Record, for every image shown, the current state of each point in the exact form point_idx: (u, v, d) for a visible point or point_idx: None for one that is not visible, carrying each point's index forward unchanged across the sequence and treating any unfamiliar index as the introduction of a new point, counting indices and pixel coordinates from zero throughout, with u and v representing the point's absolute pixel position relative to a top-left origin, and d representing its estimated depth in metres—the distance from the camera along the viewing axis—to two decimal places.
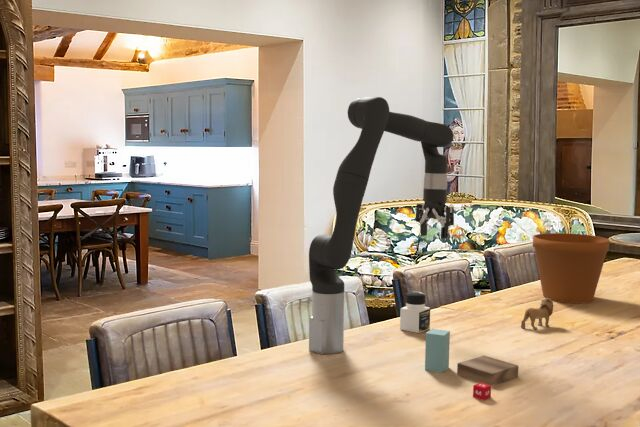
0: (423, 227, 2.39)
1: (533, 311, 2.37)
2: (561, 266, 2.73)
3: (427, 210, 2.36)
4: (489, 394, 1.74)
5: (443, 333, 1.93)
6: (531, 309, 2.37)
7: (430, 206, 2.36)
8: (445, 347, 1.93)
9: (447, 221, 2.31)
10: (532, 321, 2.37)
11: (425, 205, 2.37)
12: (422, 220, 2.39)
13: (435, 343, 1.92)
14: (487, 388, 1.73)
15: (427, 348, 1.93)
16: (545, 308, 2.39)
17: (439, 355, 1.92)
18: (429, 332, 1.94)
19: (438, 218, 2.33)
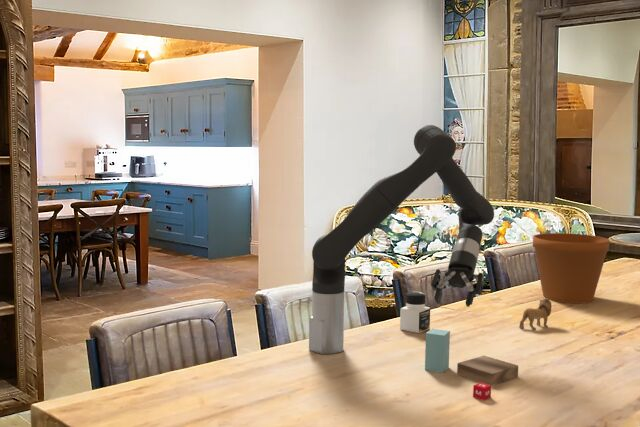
0: None
1: (532, 312, 2.36)
2: (561, 266, 2.73)
3: None
4: (489, 394, 1.74)
5: (443, 333, 1.93)
6: (530, 309, 2.37)
7: None
8: (445, 347, 1.93)
9: None
10: (531, 321, 2.36)
11: None
12: None
13: (435, 343, 1.92)
14: (487, 388, 1.73)
15: (427, 348, 1.93)
16: (543, 308, 2.39)
17: (439, 355, 1.92)
18: (429, 332, 1.94)
19: None
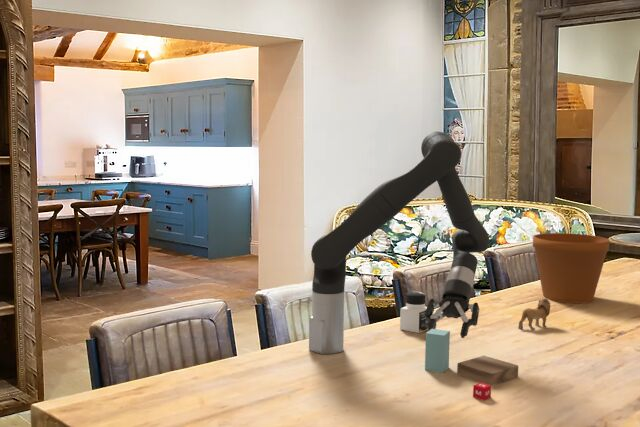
0: None
1: (531, 312, 2.36)
2: (561, 266, 2.73)
3: None
4: (489, 394, 1.74)
5: (443, 333, 1.93)
6: (529, 309, 2.36)
7: None
8: (445, 347, 1.93)
9: None
10: (530, 321, 2.36)
11: None
12: None
13: (435, 343, 1.92)
14: (487, 388, 1.73)
15: (427, 348, 1.93)
16: (542, 308, 2.39)
17: (439, 355, 1.92)
18: (429, 332, 1.94)
19: None
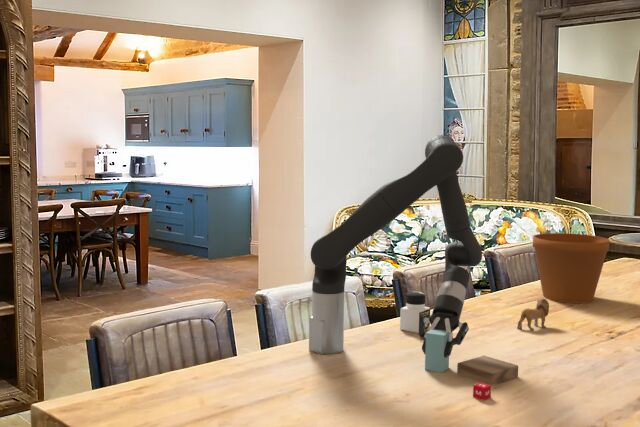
0: None
1: (530, 312, 2.36)
2: (561, 266, 2.73)
3: None
4: (489, 394, 1.74)
5: (443, 333, 1.93)
6: (527, 310, 2.36)
7: None
8: None
9: None
10: (529, 322, 2.36)
11: None
12: None
13: (435, 343, 1.92)
14: (487, 388, 1.73)
15: (427, 348, 1.93)
16: (541, 309, 2.38)
17: (439, 355, 1.92)
18: (429, 332, 1.94)
19: None
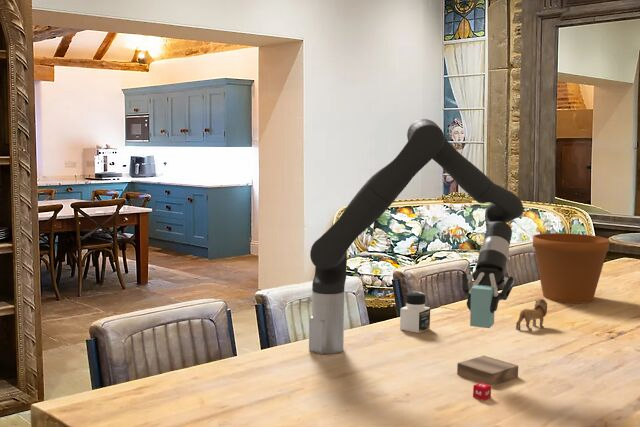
0: None
1: (528, 312, 2.35)
2: (561, 266, 2.73)
3: None
4: (489, 394, 1.74)
5: (489, 288, 1.87)
6: (526, 310, 2.35)
7: None
8: None
9: None
10: (527, 322, 2.35)
11: None
12: None
13: (481, 297, 1.87)
14: (487, 388, 1.73)
15: (472, 303, 1.88)
16: (539, 309, 2.38)
17: (485, 310, 1.86)
18: (474, 287, 1.88)
19: None
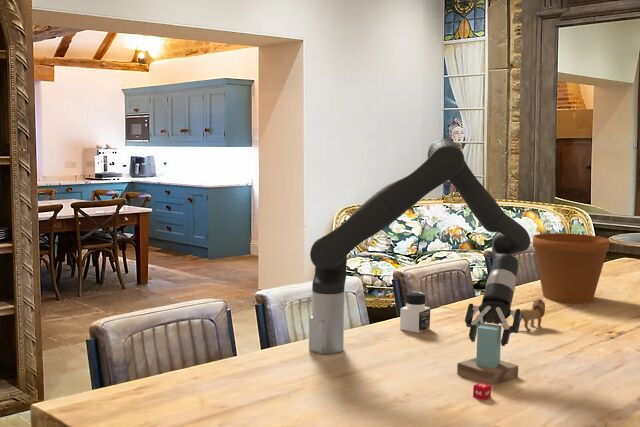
0: None
1: (526, 313, 2.35)
2: (561, 266, 2.73)
3: None
4: (489, 394, 1.74)
5: (495, 328, 1.87)
6: (524, 310, 2.35)
7: None
8: (497, 342, 1.87)
9: None
10: (525, 322, 2.35)
11: None
12: None
13: (488, 337, 1.86)
14: (487, 388, 1.73)
15: (479, 343, 1.88)
16: (537, 309, 2.38)
17: (491, 350, 1.86)
18: (481, 327, 1.88)
19: None
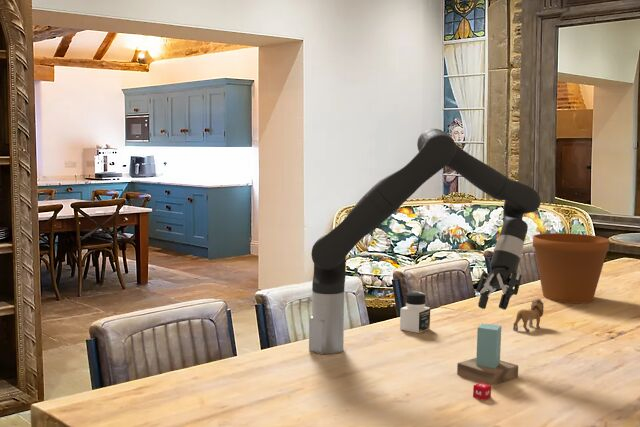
0: None
1: (525, 313, 2.34)
2: (561, 266, 2.73)
3: None
4: (489, 394, 1.74)
5: (495, 328, 1.87)
6: (523, 311, 2.35)
7: None
8: (497, 342, 1.87)
9: None
10: (524, 323, 2.34)
11: None
12: None
13: (488, 337, 1.86)
14: (487, 388, 1.73)
15: (479, 343, 1.88)
16: (536, 309, 2.37)
17: (491, 350, 1.86)
18: (481, 327, 1.88)
19: None
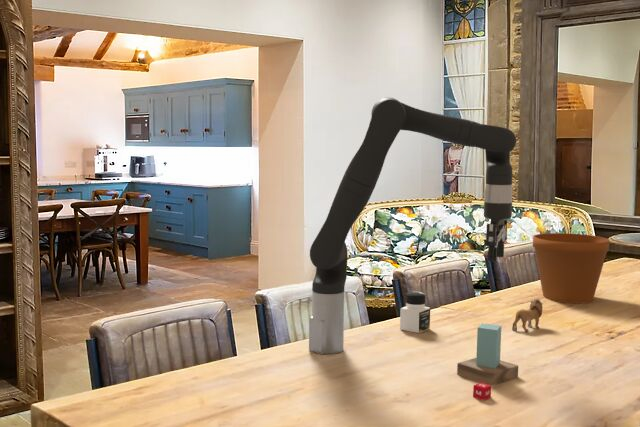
0: None
1: (524, 313, 2.34)
2: (561, 266, 2.73)
3: (503, 228, 2.00)
4: (489, 394, 1.74)
5: (495, 328, 1.87)
6: (522, 311, 2.34)
7: (500, 223, 2.00)
8: (497, 342, 1.87)
9: (506, 235, 2.07)
10: (523, 323, 2.34)
11: (498, 224, 1.99)
12: (497, 242, 1.98)
13: (488, 337, 1.86)
14: (487, 388, 1.73)
15: (479, 343, 1.88)
16: (535, 309, 2.37)
17: (491, 350, 1.86)
18: (481, 327, 1.88)
19: (505, 234, 2.04)
